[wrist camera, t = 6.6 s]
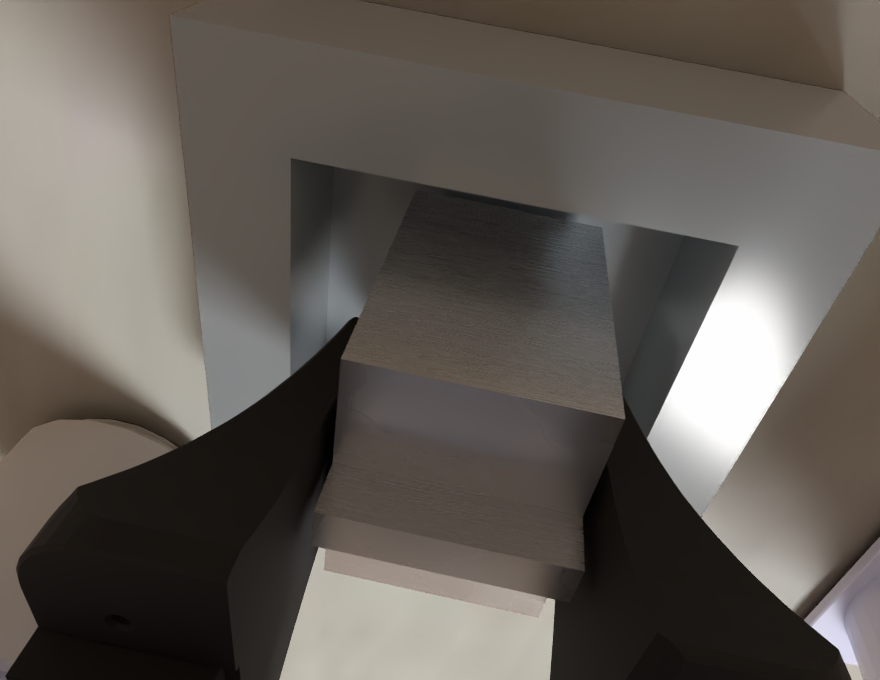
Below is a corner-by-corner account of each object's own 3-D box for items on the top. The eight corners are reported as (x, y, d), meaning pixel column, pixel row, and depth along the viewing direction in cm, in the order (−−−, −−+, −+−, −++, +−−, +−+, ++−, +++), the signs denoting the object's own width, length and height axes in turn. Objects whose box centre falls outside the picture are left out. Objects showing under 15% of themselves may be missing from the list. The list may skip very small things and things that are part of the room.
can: (-1, 387, 22) (-430, 800, 12) (215, 415, 21) (-65, 876, 12) (67, 528, 26) (-209, 910, 17) (247, 555, 26) (63, 970, 16)
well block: (845, 91, 13) (922, 158, 10) (644, 486, 20) (657, 588, 17) (250, -20, 13) (168, 15, 11) (264, 407, 21) (218, 494, 18)
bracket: (602, 227, 14) (631, 473, 8) (543, 402, 17) (536, 671, 11) (415, 189, 14) (319, 406, 8) (391, 370, 17) (307, 620, 11)
